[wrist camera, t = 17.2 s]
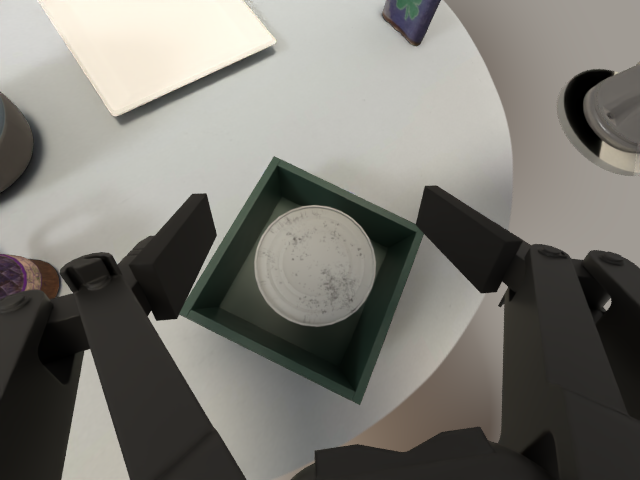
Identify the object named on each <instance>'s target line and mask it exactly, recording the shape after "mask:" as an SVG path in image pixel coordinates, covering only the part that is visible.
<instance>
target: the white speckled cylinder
mask: <svg viewBox="0 0 640 480" xmlns="http://www.w3.org/2000/svg"><path fill="white" fill-rule="evenodd" d="M254 266H255V277H256V281H257V284H258V287H259V290H260V292H261V294H262V295H263V297H264V299H265V300H266V302H267V303H268V304H269V305H270V306H271V307H272V308H273V309H274V310H275V311H276V313H278V314H279V315H281V316H283V317H284V318H286V319H287V320H289V321H292V322H295V323H297V324H300V325H304V326H315V327H319V326H325V325H332V324H334V323H337V322H339V321H342V320H344V319H346V318H347V317H349V316H350V315H352V314H353V313H354V312H356V311H357V310H358V309H359V307H360V306H361V305H362V304H363V303H364V302H365V301H366V299H367V297H368V295H369V293H370V291H371V289H372V286H373V283H374V279H375V273H376V260H375V254H374V249H373V247H372V244H371V242H370V239H369V237H368V236H367V234H366V233H365V231H364V230H363V228H362V227H361V226H360V225H359V224H358V223H357V222H356V221H355V220H354V219H353V218H352V217H350V216H348V215H347V214H345V213H343V212H342V211H339V210H337V209H334V208H331V207H327V206H319V205H311V206H302V207H299V208H296V209H292V210H290V211H288V212H286V213H284V214H283V215H281V216H279V217H278V218H277V219H276V220H275V221H274V222H273V223H271V224H270V225H269V227H268V228H267V229H266V231H265V232H264V234H263V235H262V237H261V239H260V241H259V244H258V246H257V249H256V255H255V261H254Z"/></svg>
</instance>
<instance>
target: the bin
mask: <svg viewBox="0 0 640 480" xmlns="http://www.w3.org/2000/svg"><path fill="white" fill-rule="evenodd" d="M311 205H319V206H327V207H331V208H334V209H337V210H339V211H342V212H343V213H345V214H347V215H348V216H350V217H352V218H353V219H354V220H355V221H356V222H357V223H358V224H359V225H360V226H361V227H362V228H363V230H364V231H365V233H366V234H367V236H368V237H369V239H370V242H371V244H372V247H373V249H374V254H375V260H376V273H375V279H374V283H373V286H372V289H371V291H370V293H369V295H368V297H367V299H366V301H365V302H364V303H363V304H362V305H361V306H360V307H359V309H358V310H357V311H356V312H354V313H353V314H352V315H350V316H349V317H347V318H346V319H344V320H342V321H339V322H337V323H334V324H332V325H325V326H319V327H315V326H304V325H300V324H297V323H295V322H292V321H289V320H287V319H286V318H284V317H283V316H281V315H279V314H278V313H276V311H275V310H274V309H273V308H272V307H271V306H270V305H269V304H268V303H267V302H266V300H265V299H264V297H263V295H262V294H261V292H260V290H259V287H258V284H257V281H256V277H255V266H254V261H255V255H256V249H257V246H258V244H259V241H260V239H261V237H262V235H263V234H264V232H265V231H266V229H267V228H268V227H269V225H270V224H271V223H273V222H274V221H275V220H276V219H277V218H278V217H279V216H281V215H283V214H284V213H286V212H288V211H290V210H292V209H296V208H299V207H302V206H311ZM423 235H424V233H423V232H422V231H421V230H420V229H419V228H418V227H417V226H416V224H414V223H412V222H410V221H408V220H406V219H404V218H402V217H399V216H397V215H395V214H393V213H391V212H389V211H387V210H385V209H383V208H381V207H379V206H377V205H374V204H372V203H370V202H368V201H366V200H364V199H362V198H360V197H358V196H356V195H354V194H352V193H350V192H347V191H345V190H343V189H341V188H339V187H337V186H335V185H333V184H331V183H329V182H327V181H325V180H323V179H320V178H318V177H316V176H314V175H312V174H310V173H308V172H306V171H304V170H302V169H300V168H298V167H296V166H293V165H291V164H289V163H287V162H285V161H283V160H281V159H279V158H277V157H275V156H274V157H273V159H272V161H271V162H270V164H269V165H268V167H267V169H266V170H265V172H264V174H263V175H262V177H261V179H260V180H259V182H258V183H257V185H256V187H255V188H254V190H253V192H252V193H251V195H250V197H249V198H248V200H247V202H246V203H245V205H244V206H243V208H242V210H241V211H240V213H239V215H238V216H237V218H236V220H235V221H234V223H233V224H232V226H231V228H230V229H229V231H228V233H227V234H226V236H225V238H224V239H223V241H222V242H221V244H220V246H219V247H218V249H217V251H216V252H215V254H214V256H213V257H212V259H211V260H210V262H209V264H208V265H207V267H206V269H205V270H204V272H203V274H202V275H201V277H200V278H199V280H198V282H197V283H196V285H195V287H194V288H193V290H192V292H191V293H190V295H189V297H188V298H187V300H186V301H185V303H184V305H183V307H182V309H181V311H180V313H179V315H181V316H183V317H185V318H187V319H189V320H191V321H193V322H195V323H197V324H199V325H201V326H203V327H205V328H207V329H209V330H211V331H213V332H215V333H217V334H219V335H221V336H223V337H225V338H227V339H229V340H231V341H233V342H235V343H237V344H239V345H241V346H243V347H245V348H247V349H249V350H251V351H253V352H255V353H257V354H259V355H261V356H263V357H265V358H267V359H269V360H271V361H273V362H275V363H277V364H279V365H281V366H283V367H285V368H287V369H289V370H291V371H293V372H295V373H297V374H299V375H301V376H303V377H305V378H307V379H309V380H311V381H313V382H315V383H317V384H319V385H321V386H323V387H325V388H327V389H329V390H331V391H333V392H335V393H337V394H339V395H341V396H343V397H345V398H347V399H349V400H351V401H353V402H355V403H357V404H359V405H360V404H361V401H362V399H363V396H364V393H365V391H366V388H367V385H368V382H369V380H370V377H371V374H372V372H373V369H374V366H375V364H376V361H377V358H378V356H379V353H380V350H381V348H382V345H383V342H384V340H385V337H386V334H387V332H388V329H389V326H390V324H391V321H392V318H393V315H394V313H395V310H396V307H397V305H398V302H399V299H400V297H401V294H402V291H403V289H404V286H405V283H406V281H407V278H408V275H409V273H410V270H411V267H412V265H413V262H414V259H415V257H416V254H417V251H418V249H419V246H420V243H421V240H422V238H423Z"/></svg>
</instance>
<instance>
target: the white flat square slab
mask: <svg viewBox="0 0 640 480" xmlns="http://www.w3.org/2000/svg"><path fill="white" fill-rule="evenodd" d="M38 2H39V3H40V5H41V7H42V8H43V10H44V11H45V13H46V14H47V16H48V17H49V19H50V20H51V22H52V23H53V25H54V27H55V28H56V30H57V31H58V33H59V34H60V36H61V37H62V39H63V40H64V42H65V44H66V45H67V47H68V48H69V50H70V51H71V53H72V54H73V56H74V57H75V59H76V61H77V62H78V64H79V65H80V67H81V68H82V70H83V71H84V73H85V74H86V76H87V78H88V79H89V81H90V82H91V84H92V85H93V87H94V88H95V90H96V91H97V93H98V95H99V96H100V98H101V99H102V101H103V102H104V104H105V105H106V107H107V108H108V110H109V112H110V113H111V115H113V116H119V115H122V114H124V113H126V112H128V111H130V110H133V109H135V108H137V107H139V106H141V105H144V104H146V103H148V102H150V101H152V100H154V99H157V98H159V97H161V96H163V95H165V94H168V93H170V92H172V91H174V90H176V89H178V88H181V87H183V86H185V85H187V84H189V83H192V82H194V81H196V80H198V79H200V78H202V77H205V76H207V75H209V74H211V73H213V72H216V71H218V70H220V69H222V68H224V67H226V66H229V65H231V64H233V63H235V62H237V61H240V60H242V59H244V58H246V57H248V56H250V55H253V54H255V53H257V52H259V51H261V50H264V49H266V48H268V47H270V46H272V45H274V44H275V43H276V39H275V38H274V37H273V36H272V35H271V33H270V32H269V31H268V30H267V28H266V27H265V26H264V25H263V24H262V22H261V21H260V20H259V19H258V18H257V16H256V15H255V14H254V13H253V12H252V10H251V9H250V8H249V7H248V5H247V4H246V3H245V2H244V1H243V0H38Z"/></svg>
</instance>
